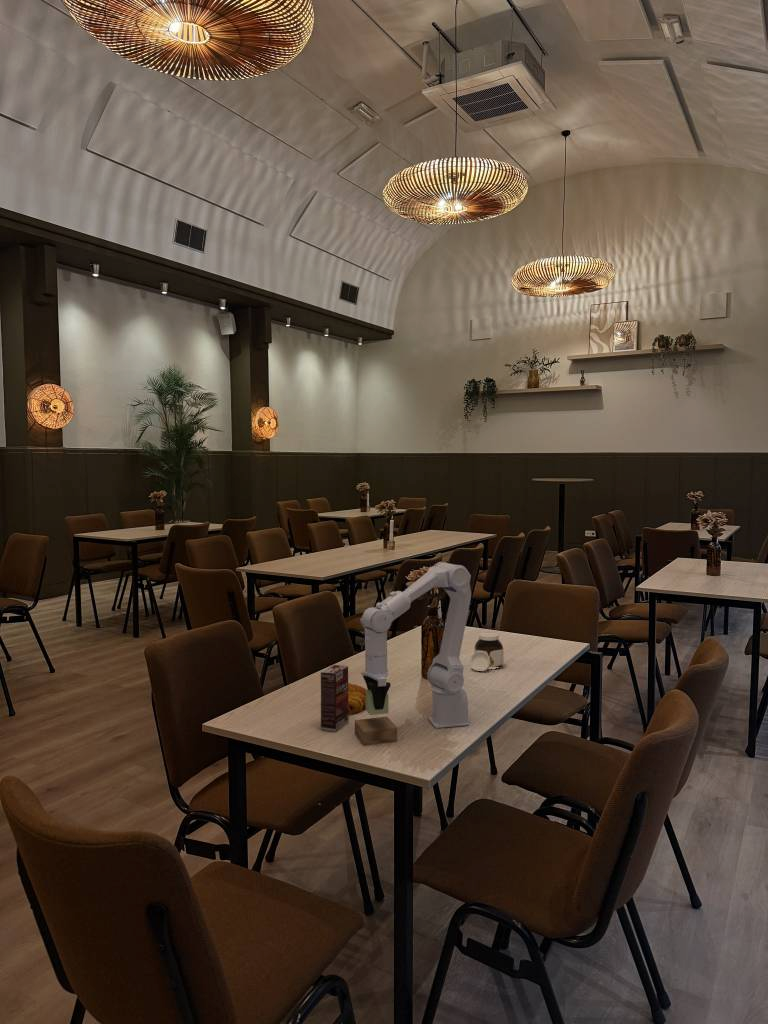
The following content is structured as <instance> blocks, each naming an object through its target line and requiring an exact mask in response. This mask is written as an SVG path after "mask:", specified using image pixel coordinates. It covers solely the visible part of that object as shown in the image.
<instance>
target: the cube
mask: <svg viewBox="0 0 768 1024" xmlns="http://www.w3.org/2000/svg"><path fill="white" fill-rule="evenodd" d="M389 707H390V706H389V693H388V692H387V695H386V698H385V703H384V708H383V709H380V710H375V708H374V703H373V696H372V692H371V690H368V689H367V690H366V710H365V711H366V712H367V714H368V715H369V716H377V715H386V714H387V715H388V714H389Z"/></svg>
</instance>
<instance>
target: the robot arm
mask: <svg viewBox="0 0 768 1024" xmlns="http://www.w3.org/2000/svg"><path fill="white" fill-rule="evenodd" d="M471 577H472V575H471V574H470V572H469V571H468V569H467V568H466V567H465V566H464V565H461V564H453V563H449V562H448V563H447V562H445V561H439V562H437V563H435V564H434V565H432V566H431V567H429V568H428V569H427V572H425V573H424V574H423V575H422V576H421V577H419V578H418V579H417V580H416V581H414V582H413V583H412V584H411V585H409V586H408V587H407V588H405V590H403V591H401V590H397V591H391V592H390V593H389V596H387V597H386V598H385V599H383V600H382V601H381V602H377V603H376V604H375V605H376V606H375V607H374V606H373V607H368V608H367V609H365V610H364V611H363V614H362V616H361V618H360V623H361V626H362V627H363V628H364V650H365V651H364V653H365V654H364V657H365V658H364V659H365V660H364V661H365V662H364V663H365V665H364V667H365V670H361V671H360V674H361V676H362V678H363V680H364V683H365V685H366V687H367V688H366V689H367V690H371V692H372V696H373V703H374V708H375V710H380V709H383V708H384V703H385V698H386V695H387V693H388V691H389V689H390V688H391V682H390V681H389V682H388V681H387V677H388V675H389V670H388V630H389V629H390V628H391V626H392V623H393V621H394V620H396V619H397V618H399V617H400V616H401V615H403V614H405V613H406V612H407V611H408V610H409V609H410V608H411V603H412V602H414V600H417V599H418V598H419V597H421V596H422V595H424V594H425V593H427V592H429V591H430V590H432V589H433V588H442V589H443V590H444V591H445V593H446V594H447V595H448V597H449V605H448V609H447V615H446V619H445V625H444V630H443V634H442V639H441V644H440V649H439V653H438V654H437V655H436V656H435V657H434V658H433V659H432V663H431V665H430V667H429V668H428V671H427V675H426V676H427V677H426V678H427V681H428V682H429V684H430V685H431V689H432V690H431V691H432V698H431V699H432V716H429V717H427V719H428V720H429V721H430V723H432V725H433V726H434V728H435V729H441V728H451V727H452V728H453V727H454V728H455V727H463V726H469V725H470V723H469V699H468V694H467V692H466V690H465V689H463V686H464V681H465V679H464V665H463V662H462V661H461V659H460V655H461V650H462V644H463V640H464V635H465V629H466V624H467V621H468V615H469V610H470V605H471V599H472V598H471V597H472V590H471V584H470V583H471Z"/></svg>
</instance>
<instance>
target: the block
mask: <svg viewBox="0 0 768 1024" xmlns="http://www.w3.org/2000/svg"><path fill="white" fill-rule="evenodd" d="M354 735H355V736H356V737H357V739H358V740H359V742H360V743H361V745H362V746H363V747H365V746H366V747H367V746H374V745H382V744H390V743H397V742H398V727H397V725H396V724H394V723H393V721H392V720H391V719H390V718H389V717H388V716H379V717H372V718H371V717H370V718H369V717H368V718H361V719H355V720H354Z"/></svg>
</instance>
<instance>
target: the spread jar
mask: <svg viewBox="0 0 768 1024" xmlns="http://www.w3.org/2000/svg"><path fill="white" fill-rule="evenodd" d="M473 650H474V653H473V654H472V655H471V658H470V662H469V664H470V666H471V668H472V669H473V670H474V671H476V670H475V668H476V669H485V670H486V671H488V670H487V669H488V668H489V667H499V666H500V667H502V665H503V664H504V646H503V644H502V642H501V640H499V633H497V632H496V633H495V632H481V633H479V634H478V640H477V641H476V643H475V645H474V649H473ZM500 667H499V668H500ZM483 672H485V671H484V670H483Z"/></svg>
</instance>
